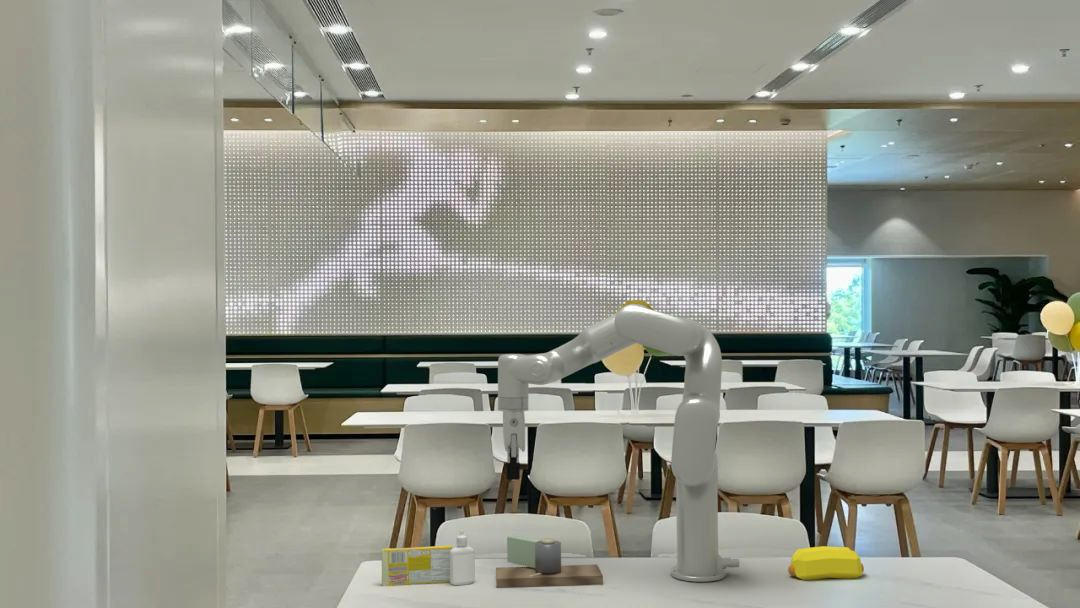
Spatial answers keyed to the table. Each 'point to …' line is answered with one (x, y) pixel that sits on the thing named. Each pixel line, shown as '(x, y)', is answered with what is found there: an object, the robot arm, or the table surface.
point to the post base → (548, 576)
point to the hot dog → (825, 563)
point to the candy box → (416, 565)
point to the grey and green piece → (535, 553)
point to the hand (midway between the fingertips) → (513, 478)
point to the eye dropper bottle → (462, 562)
